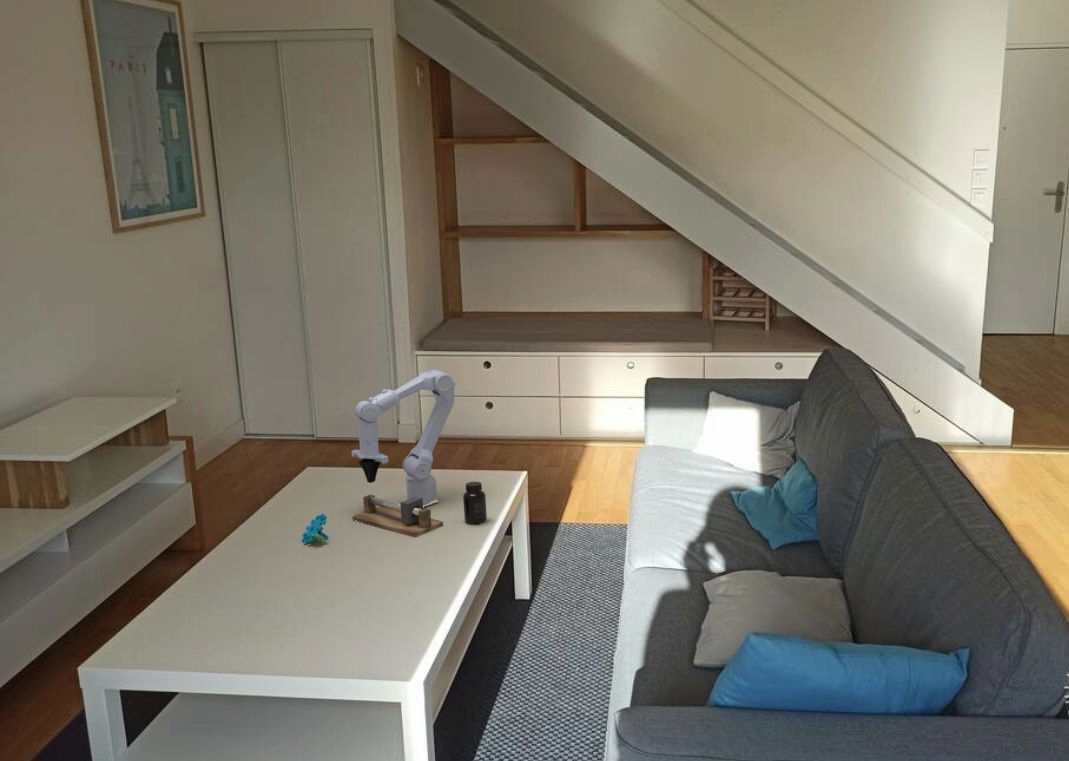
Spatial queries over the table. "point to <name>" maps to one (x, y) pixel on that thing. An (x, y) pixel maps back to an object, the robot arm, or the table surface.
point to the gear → (315, 530)
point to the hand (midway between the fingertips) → (371, 481)
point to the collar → (410, 510)
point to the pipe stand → (395, 517)
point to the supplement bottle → (474, 504)
